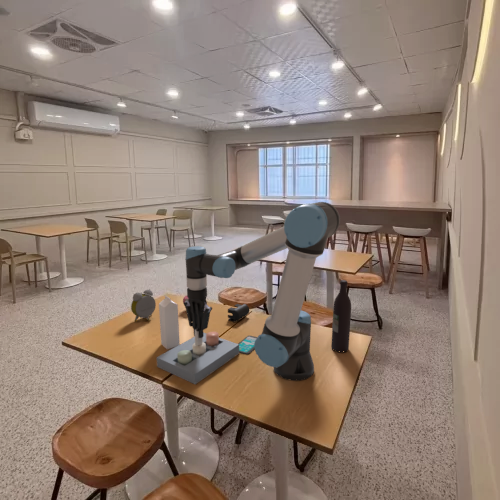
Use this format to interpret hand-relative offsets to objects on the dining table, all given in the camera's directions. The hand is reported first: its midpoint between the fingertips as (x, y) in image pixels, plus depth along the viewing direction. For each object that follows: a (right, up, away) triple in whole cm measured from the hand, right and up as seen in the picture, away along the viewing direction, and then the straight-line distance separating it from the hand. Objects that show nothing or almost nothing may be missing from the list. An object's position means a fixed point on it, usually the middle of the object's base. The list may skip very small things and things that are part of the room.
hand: (198, 344), depth 133 cm
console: (0, -7, +1) cm, 7 cm away
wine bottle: (+58, -5, +10) cm, 59 cm away
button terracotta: (+5, -2, +7) cm, 9 cm away
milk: (-14, -4, +14) cm, 20 cm away
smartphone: (+19, -5, +13) cm, 24 cm away
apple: (-12, +4, +52) cm, 53 cm away
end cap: (+14, +1, +41) cm, 43 cm away
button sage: (-4, -6, -6) cm, 9 cm away
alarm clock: (-33, +1, +40) cm, 52 cm away
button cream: (0, -4, +1) cm, 4 cm away
